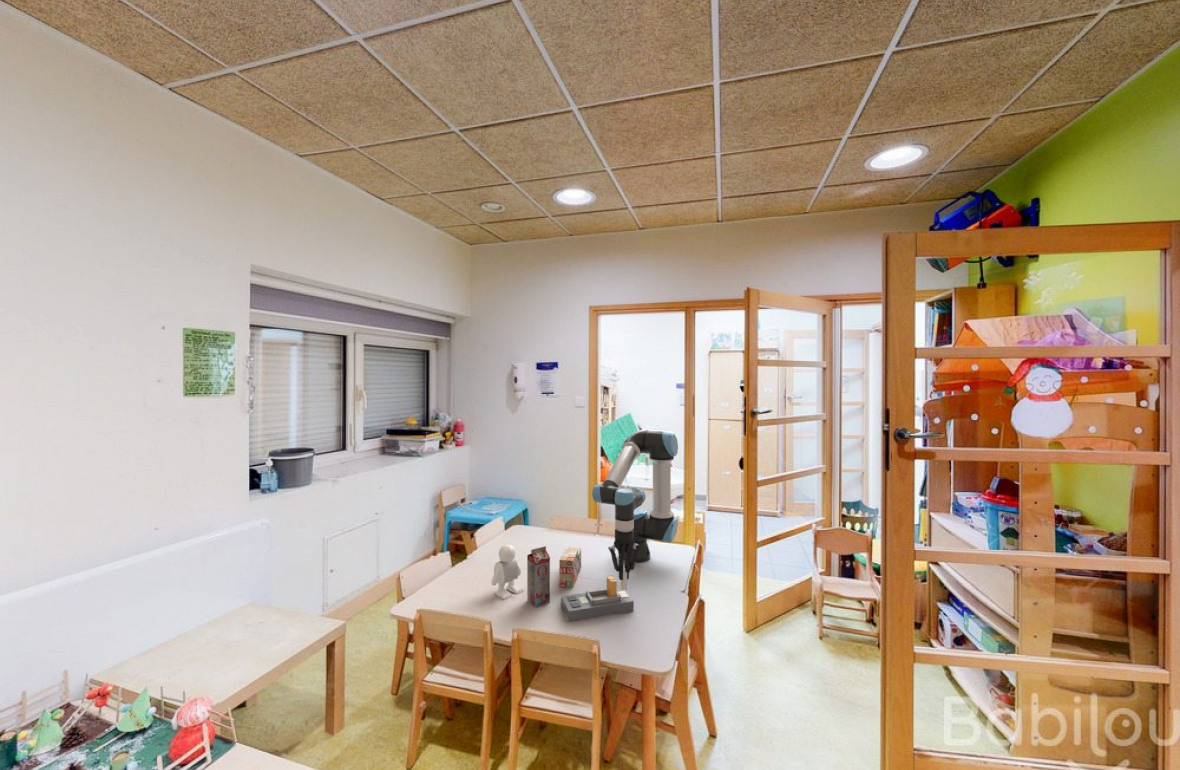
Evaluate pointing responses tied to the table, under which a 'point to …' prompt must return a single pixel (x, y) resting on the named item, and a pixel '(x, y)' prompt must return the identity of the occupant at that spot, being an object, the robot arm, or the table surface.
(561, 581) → the stack of blocks
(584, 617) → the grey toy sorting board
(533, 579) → the juice carton
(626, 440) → the robot arm
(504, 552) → the toy robot
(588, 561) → the table surface
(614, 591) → the breaker lever
